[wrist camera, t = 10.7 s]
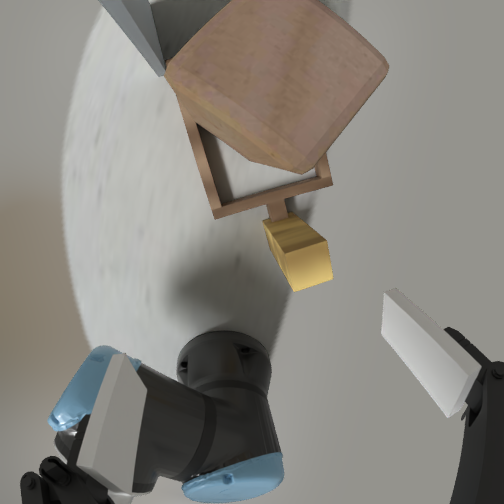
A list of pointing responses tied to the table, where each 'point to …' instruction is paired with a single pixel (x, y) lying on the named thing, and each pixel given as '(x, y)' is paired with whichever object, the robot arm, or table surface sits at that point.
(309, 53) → the wooden block
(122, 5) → the shelf
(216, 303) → the table surface
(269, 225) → the pull yoke
